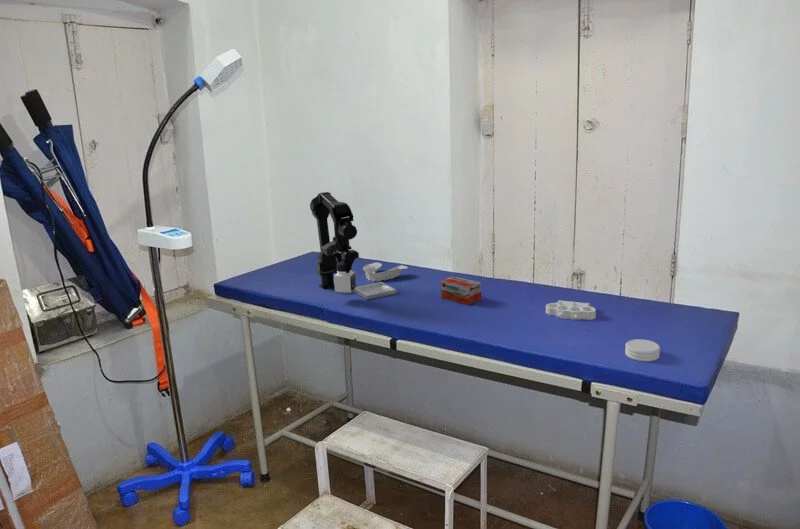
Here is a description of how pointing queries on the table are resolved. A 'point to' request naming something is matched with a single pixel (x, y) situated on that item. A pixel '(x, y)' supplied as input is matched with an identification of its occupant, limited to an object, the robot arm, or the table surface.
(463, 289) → the medicine box
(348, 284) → the medicine bottle
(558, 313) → the grey holed plate
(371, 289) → the tray
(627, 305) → the table surface
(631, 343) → the white round container
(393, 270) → the dental model
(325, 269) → the robot arm
